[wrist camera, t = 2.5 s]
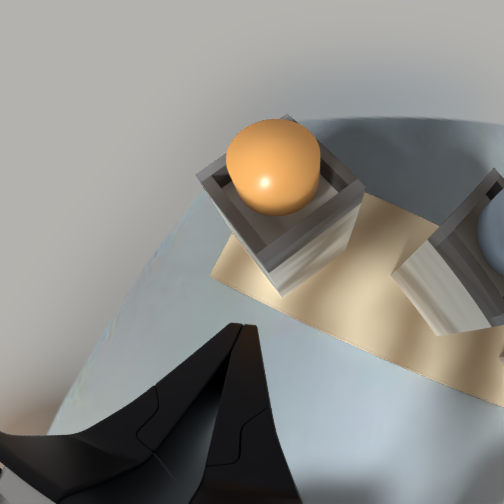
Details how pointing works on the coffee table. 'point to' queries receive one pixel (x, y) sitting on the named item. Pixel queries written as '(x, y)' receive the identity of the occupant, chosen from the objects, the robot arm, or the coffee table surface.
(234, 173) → the orange button
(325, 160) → the button board
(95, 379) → the coffee table surface
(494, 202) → the slate button
